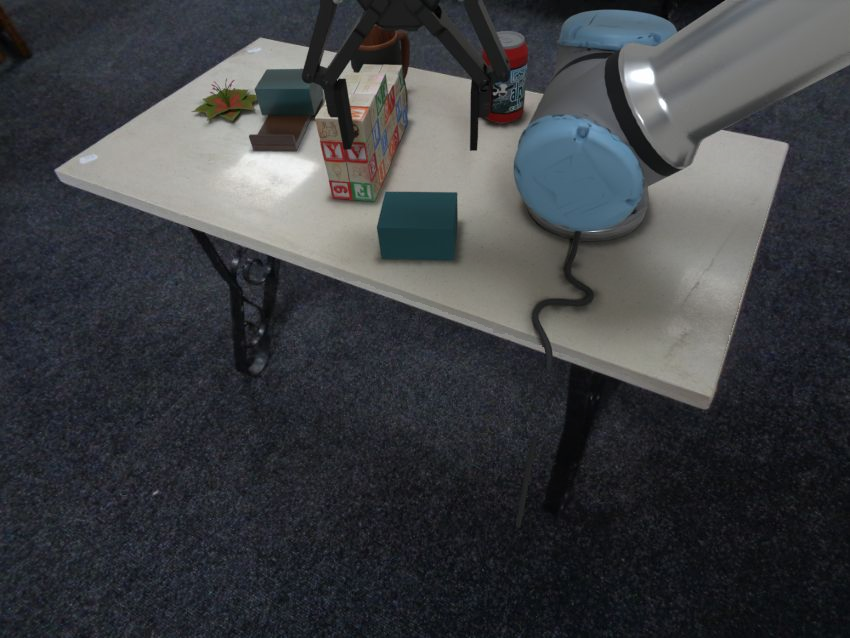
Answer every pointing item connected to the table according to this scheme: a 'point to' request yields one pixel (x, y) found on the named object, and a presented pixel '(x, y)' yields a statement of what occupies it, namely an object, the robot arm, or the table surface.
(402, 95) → the stack of blocks
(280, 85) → the teal lidded box
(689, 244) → the table surface
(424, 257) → the block
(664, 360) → the table surface
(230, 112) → the lily flower
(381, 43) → the mug
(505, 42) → the beverage can
